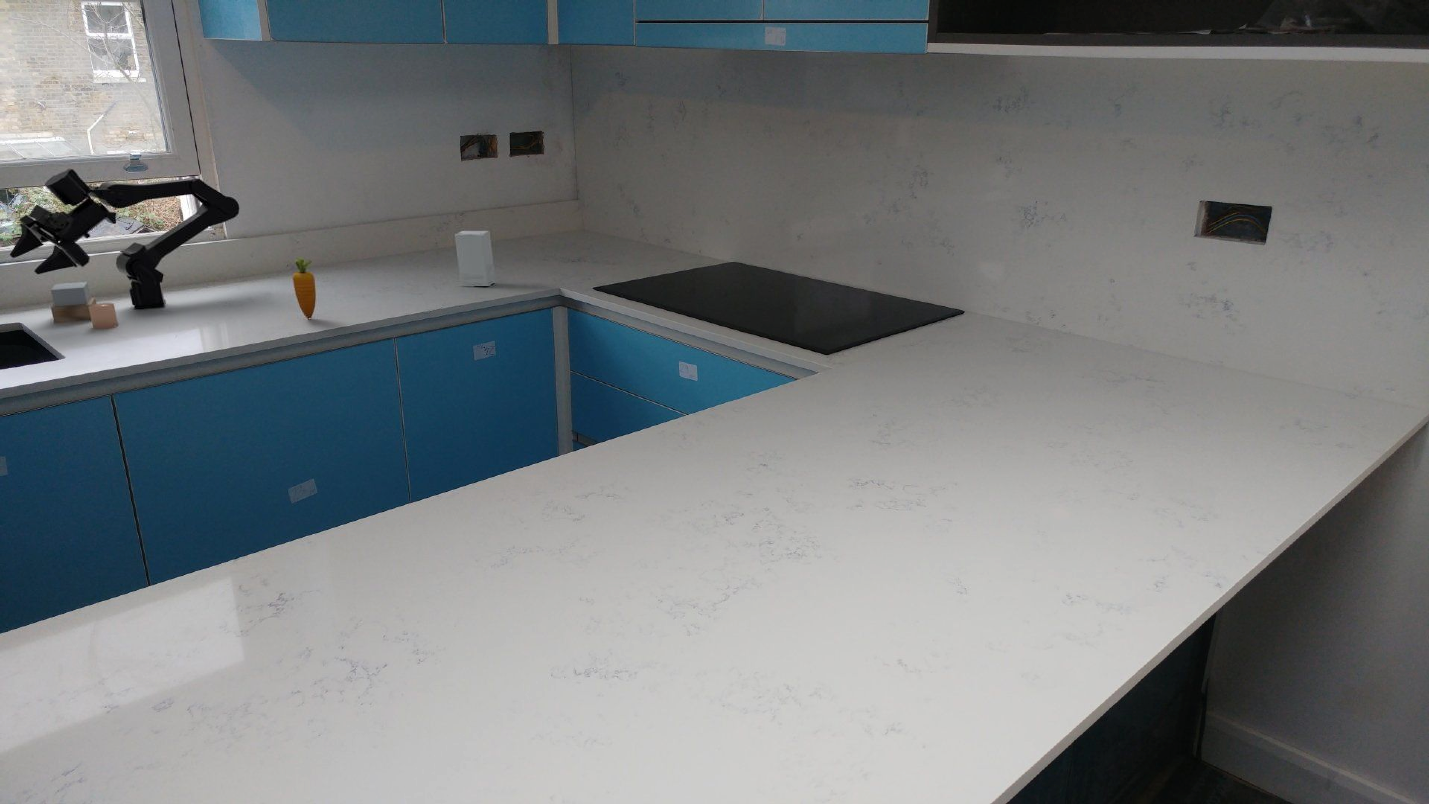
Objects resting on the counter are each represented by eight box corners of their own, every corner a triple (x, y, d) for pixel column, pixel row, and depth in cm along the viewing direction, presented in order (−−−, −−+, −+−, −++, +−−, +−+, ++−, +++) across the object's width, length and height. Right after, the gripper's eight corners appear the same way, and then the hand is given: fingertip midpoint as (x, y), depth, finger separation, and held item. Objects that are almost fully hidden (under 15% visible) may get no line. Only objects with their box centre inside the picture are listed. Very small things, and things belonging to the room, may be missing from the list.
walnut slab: (98, 313, 231) (95, 297, 229) (94, 320, 224) (91, 304, 223) (59, 316, 227) (56, 300, 226) (54, 324, 221) (50, 307, 219)
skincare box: (495, 283, 265) (492, 230, 260) (487, 288, 259) (483, 234, 254) (467, 282, 266) (463, 229, 261) (458, 286, 260) (454, 232, 255)
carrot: (301, 316, 228) (293, 255, 223) (322, 316, 229) (314, 255, 224) (295, 321, 224) (285, 259, 219) (316, 321, 224) (308, 259, 219)
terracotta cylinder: (119, 322, 222) (114, 301, 220) (117, 327, 217) (112, 306, 216) (94, 324, 220) (89, 304, 218) (91, 330, 215) (87, 308, 214)
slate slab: (91, 298, 229) (87, 281, 227) (87, 304, 223) (83, 287, 222) (59, 300, 226) (55, 284, 225) (54, 306, 220) (50, 289, 219)
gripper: (34, 181, 217) (-26, 224, 211) (84, 212, 211) (24, 257, 205) (64, 214, 227) (7, 257, 220) (113, 245, 221) (57, 289, 214)
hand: (23, 264), depth 215 cm, fingers open, 9 cm apart
